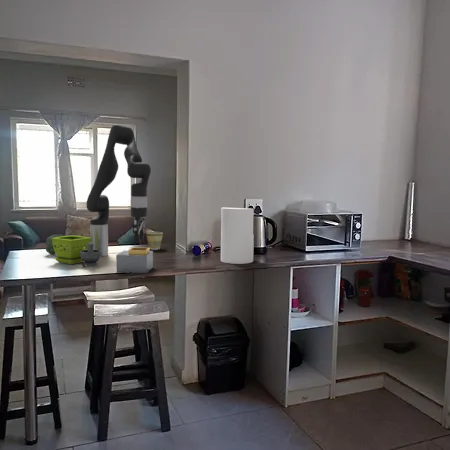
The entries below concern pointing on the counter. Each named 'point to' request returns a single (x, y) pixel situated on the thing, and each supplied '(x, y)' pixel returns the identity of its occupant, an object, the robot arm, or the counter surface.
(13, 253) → the counter surface
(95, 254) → the mortar and pestle
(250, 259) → the cylinder
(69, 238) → the flower pot
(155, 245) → the ceramic cup
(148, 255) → the grey box
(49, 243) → the vegetable
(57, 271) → the counter surface
